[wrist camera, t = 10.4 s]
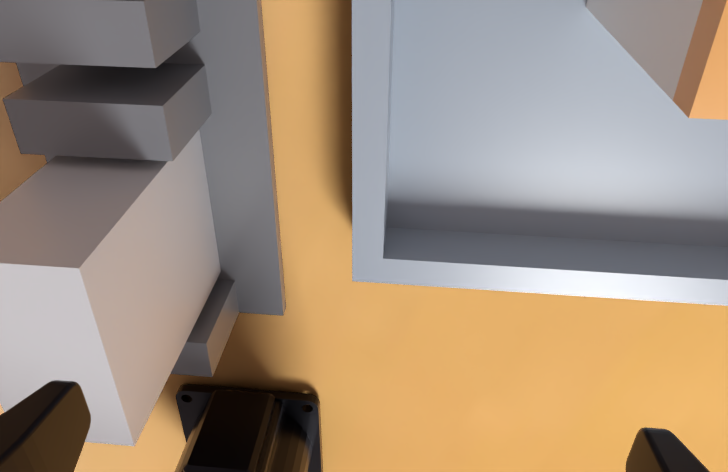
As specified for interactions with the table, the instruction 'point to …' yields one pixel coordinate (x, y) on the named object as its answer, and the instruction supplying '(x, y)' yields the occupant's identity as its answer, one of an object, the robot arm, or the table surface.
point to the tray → (527, 157)
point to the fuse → (104, 281)
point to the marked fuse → (675, 47)
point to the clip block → (162, 122)
